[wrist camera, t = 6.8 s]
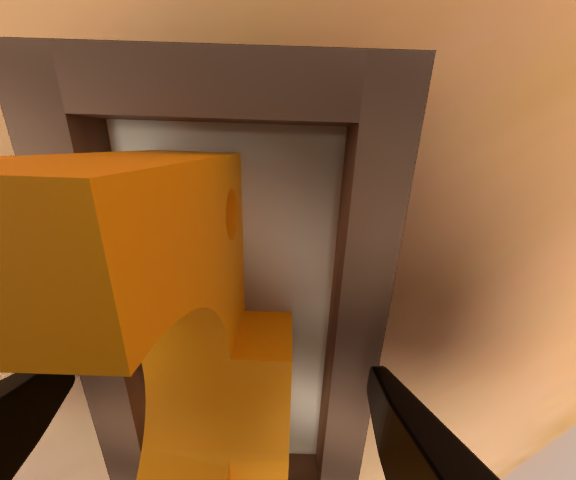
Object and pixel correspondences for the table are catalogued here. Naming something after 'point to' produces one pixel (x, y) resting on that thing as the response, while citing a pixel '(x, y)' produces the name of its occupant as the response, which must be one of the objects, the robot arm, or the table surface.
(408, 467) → the robot arm
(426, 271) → the table surface
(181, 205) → the pipe clamp
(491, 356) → the table surface
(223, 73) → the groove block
